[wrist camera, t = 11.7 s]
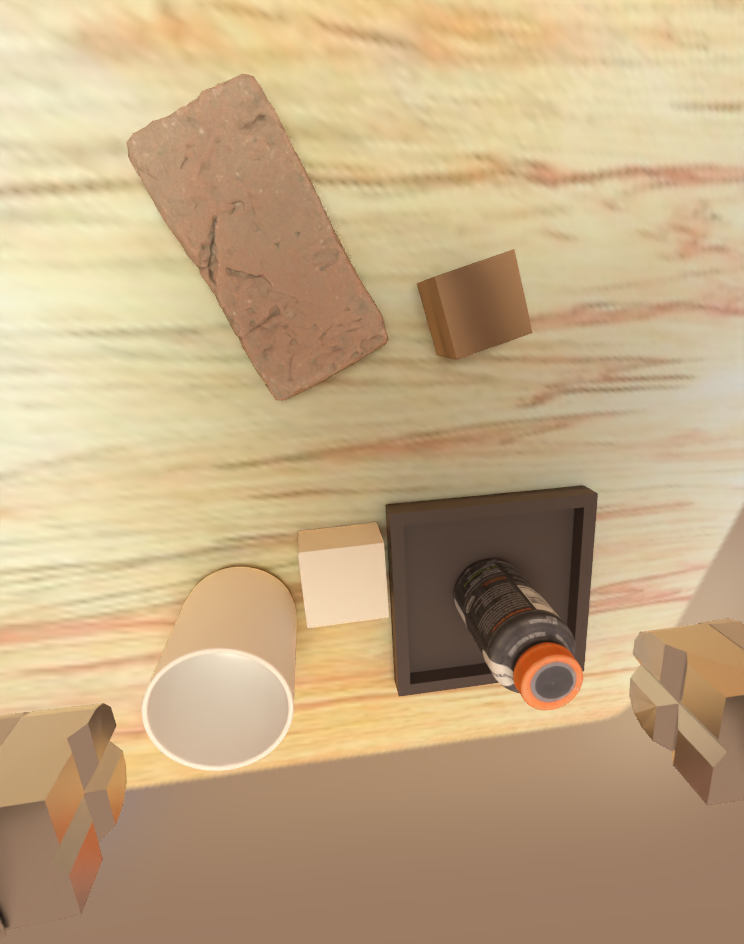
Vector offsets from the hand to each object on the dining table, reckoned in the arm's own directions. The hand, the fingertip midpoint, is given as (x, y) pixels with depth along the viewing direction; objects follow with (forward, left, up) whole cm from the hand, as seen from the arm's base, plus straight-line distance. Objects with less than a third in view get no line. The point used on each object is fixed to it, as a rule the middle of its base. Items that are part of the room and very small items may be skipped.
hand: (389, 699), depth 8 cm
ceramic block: (0, +12, -29) cm, 32 cm away
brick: (+3, -10, -30) cm, 31 cm away
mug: (+9, +17, -29) cm, 35 cm away
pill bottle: (-12, +16, -29) cm, 35 cm away
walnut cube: (-10, -6, -29) cm, 32 cm away
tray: (-12, +16, -29) cm, 35 cm away
